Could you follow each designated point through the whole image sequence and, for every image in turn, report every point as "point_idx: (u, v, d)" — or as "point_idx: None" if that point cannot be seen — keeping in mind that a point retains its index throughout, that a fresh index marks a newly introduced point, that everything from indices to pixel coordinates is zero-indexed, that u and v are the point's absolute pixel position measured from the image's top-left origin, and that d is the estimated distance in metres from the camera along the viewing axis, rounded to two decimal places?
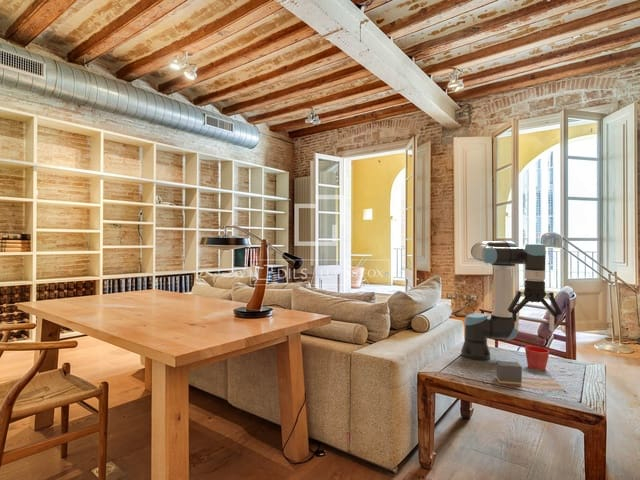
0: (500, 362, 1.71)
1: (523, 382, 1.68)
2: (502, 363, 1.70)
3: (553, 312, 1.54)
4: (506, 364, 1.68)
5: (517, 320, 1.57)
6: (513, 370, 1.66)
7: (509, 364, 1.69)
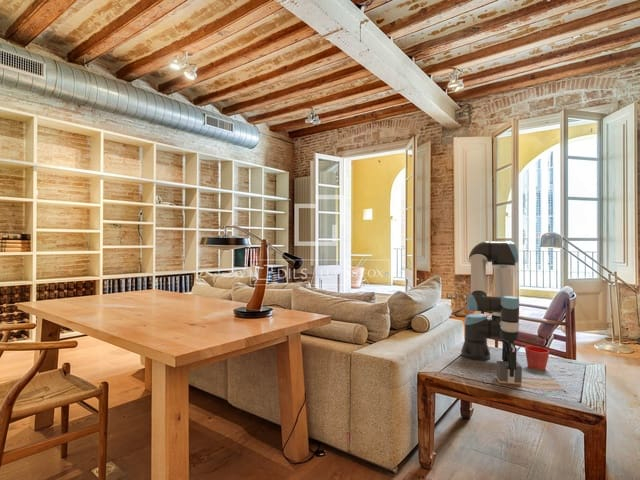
0: (500, 362, 1.71)
1: (523, 382, 1.68)
2: (502, 363, 1.70)
3: (508, 365, 1.66)
4: (506, 364, 1.69)
5: None
6: None
7: None
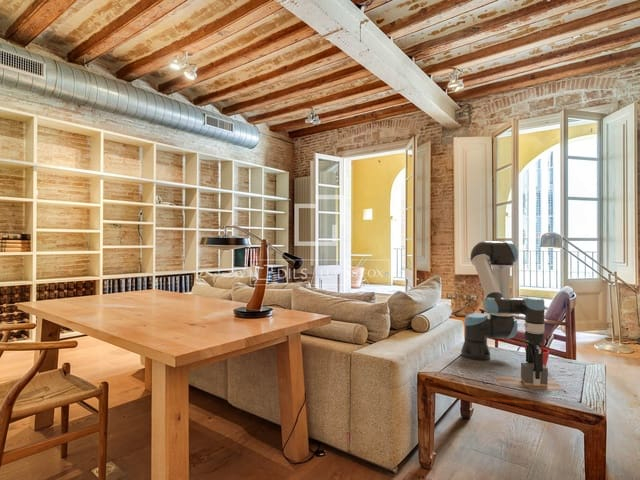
0: (525, 363, 1.69)
1: (523, 382, 1.68)
2: (527, 365, 1.68)
3: (534, 367, 1.64)
4: (531, 366, 1.66)
5: None
6: None
7: None
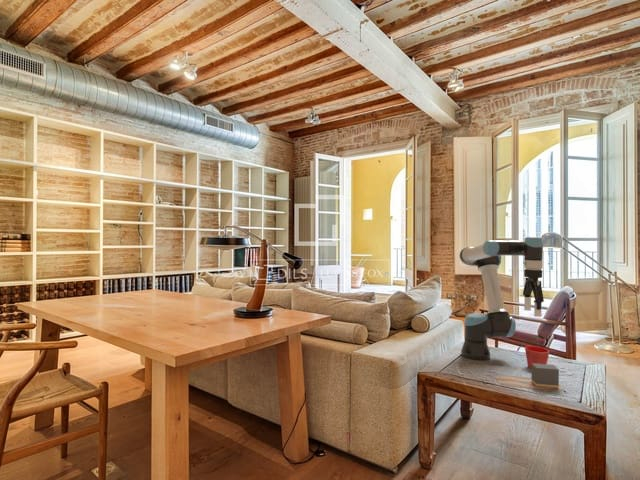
0: (536, 364, 1.68)
1: (523, 382, 1.68)
2: (538, 365, 1.67)
3: (535, 299, 1.70)
4: (542, 367, 1.65)
5: (524, 302, 1.84)
6: (550, 373, 1.63)
7: (546, 366, 1.66)
